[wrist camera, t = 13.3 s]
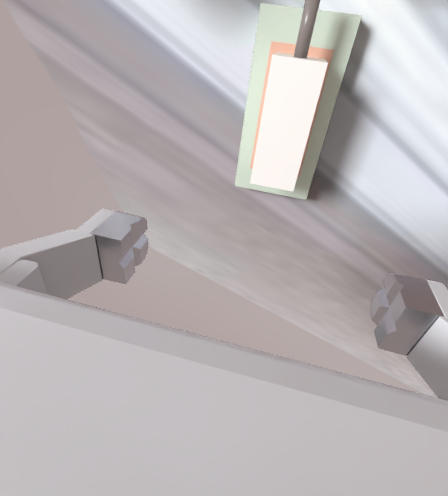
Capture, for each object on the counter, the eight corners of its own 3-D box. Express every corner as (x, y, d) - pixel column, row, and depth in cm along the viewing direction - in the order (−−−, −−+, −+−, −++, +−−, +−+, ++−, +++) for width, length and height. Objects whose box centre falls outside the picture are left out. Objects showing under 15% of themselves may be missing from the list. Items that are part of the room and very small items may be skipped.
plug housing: (342, -12, 22) (351, -23, 18) (294, 171, 31) (293, 191, 27) (289, -19, 23) (286, -30, 19) (256, 164, 32) (249, 183, 28)
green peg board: (358, 16, 25) (369, 12, 21) (306, 192, 34) (306, 214, 30) (263, 4, 26) (254, -2, 21) (237, 179, 35) (228, 198, 31)
